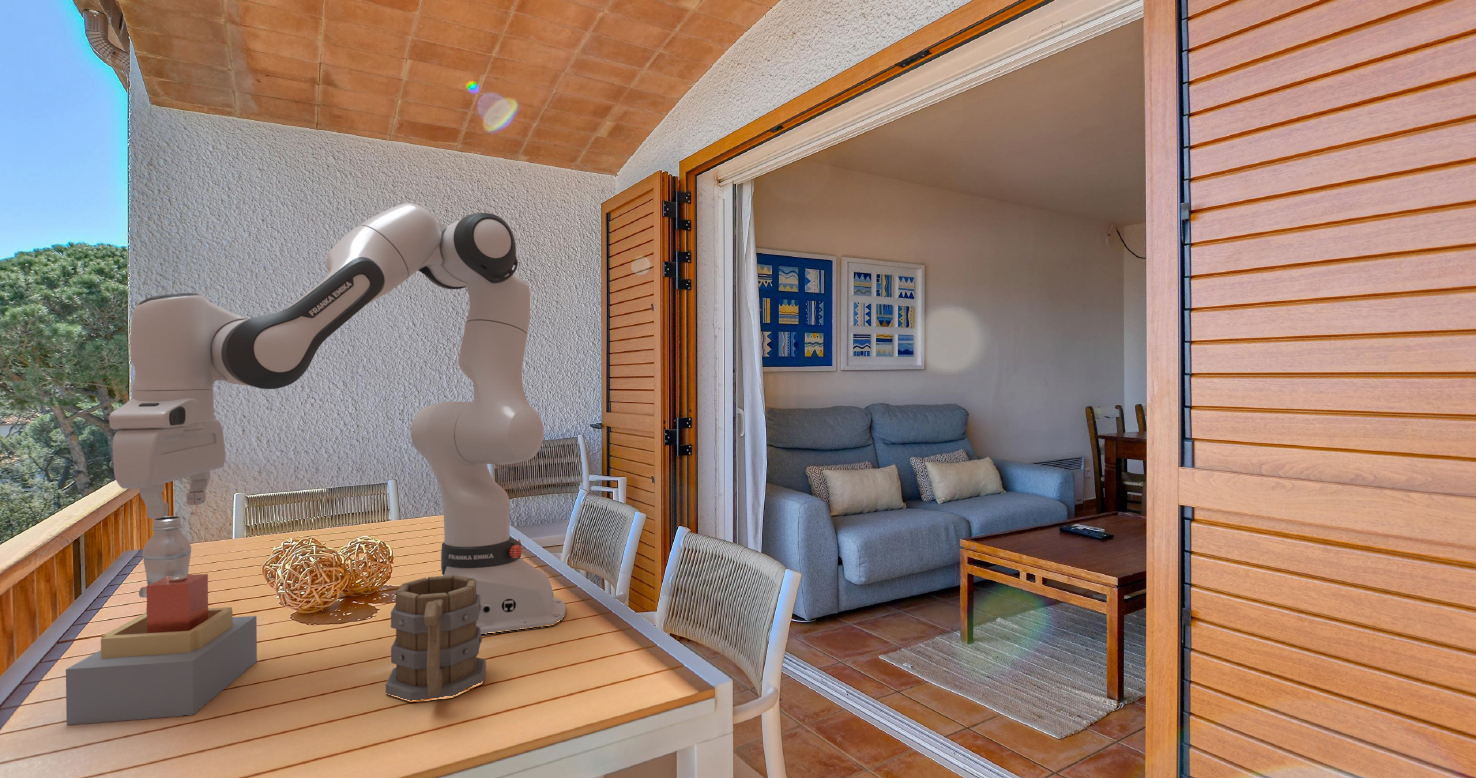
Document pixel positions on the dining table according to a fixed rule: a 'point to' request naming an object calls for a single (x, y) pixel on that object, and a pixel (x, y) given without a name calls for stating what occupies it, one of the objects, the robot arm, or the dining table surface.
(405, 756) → the dining table surface
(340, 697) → the dining table surface
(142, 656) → the grey box
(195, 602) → the red rectangular block
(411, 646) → the tankard
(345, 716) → the dining table surface
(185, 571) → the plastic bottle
